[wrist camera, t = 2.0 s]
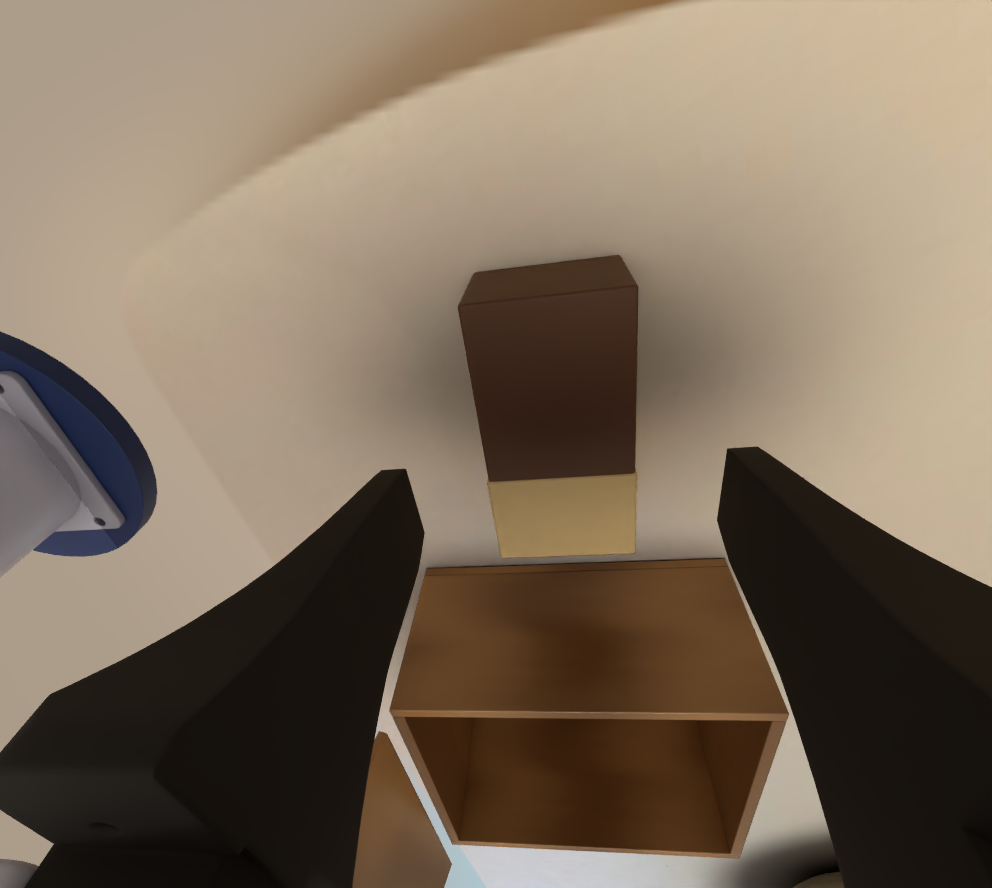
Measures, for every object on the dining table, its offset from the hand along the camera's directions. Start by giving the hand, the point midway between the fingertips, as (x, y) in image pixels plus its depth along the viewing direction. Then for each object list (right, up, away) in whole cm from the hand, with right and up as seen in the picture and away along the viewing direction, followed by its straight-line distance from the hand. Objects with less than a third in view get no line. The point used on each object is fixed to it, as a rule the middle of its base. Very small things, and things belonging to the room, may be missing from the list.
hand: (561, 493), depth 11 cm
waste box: (+2, -8, +11) cm, 14 cm away
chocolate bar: (0, +3, +4) cm, 5 cm away
